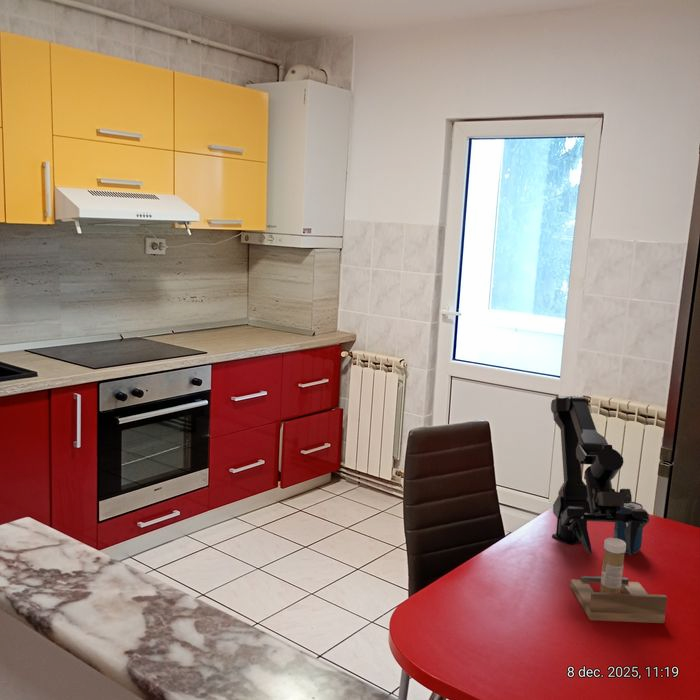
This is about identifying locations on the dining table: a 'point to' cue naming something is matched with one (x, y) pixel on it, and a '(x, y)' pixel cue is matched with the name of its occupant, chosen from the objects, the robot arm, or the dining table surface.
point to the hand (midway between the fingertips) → (610, 554)
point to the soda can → (620, 527)
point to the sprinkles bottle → (612, 565)
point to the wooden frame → (619, 602)
